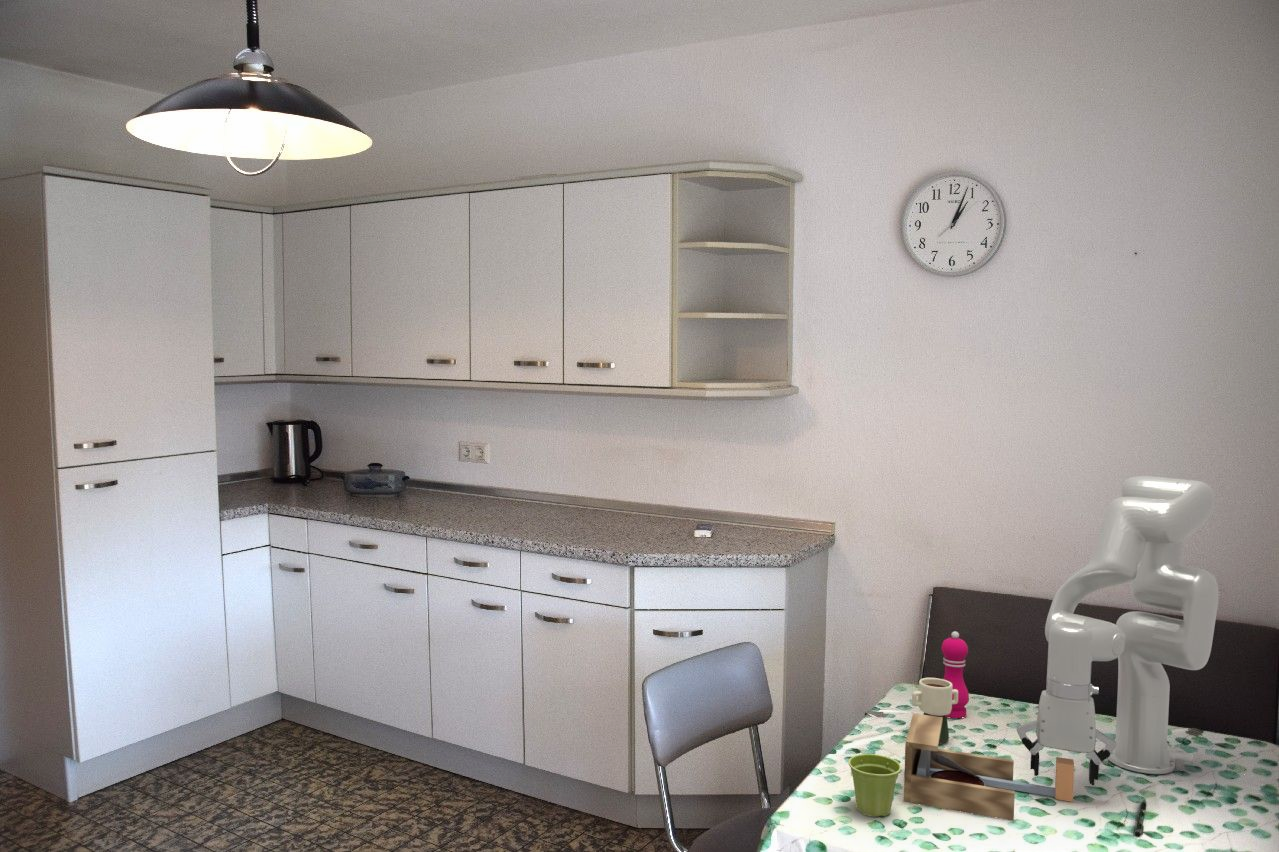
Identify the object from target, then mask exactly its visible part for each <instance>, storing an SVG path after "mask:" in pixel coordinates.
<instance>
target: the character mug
mask: <svg viewBox="0 0 1279 852" xmlns="http://www.w3.org/2000/svg"><path fill="white" fill-rule="evenodd" d="M952 687H953V686H952V683H951V682H949V681H947V680H943V678H937V677H924V678H920V679H919V681H918V690H915V691H912V693H911V705H912V707H918V708H919V710H920V711H921V712H922V715H930V716H937V717H943V722H942V728H941V734H940V739H939V744H944V743H947V742H949V738H950V735H949V725H948V718H947V717H946V715H948V714H950V713H951V709H952V704H957V703H958V690H956V689H952ZM952 694H954V699H953V700H952Z"/></svg>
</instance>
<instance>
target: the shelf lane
mask: <svg viewBox="0 0 1279 852" xmlns="http://www.w3.org/2000/svg"><path fill="white" fill-rule="evenodd" d="M942 722H943V717H937V716H930V715H923V713H915V712H914V713H912V717H911V720H910V723H909V727H908V730H907V731H908V732H907V735H906V739H905V744H904V745H905V747H904V748H905V749H904V751H905V752H904V774H903V775H904V777H903V801H902V802H904V803H907V802H908V803H909V804H914V805H919V804H920V805H921V806H926V807H930V808H931V807H932V808H937V809H942V810H948V811H949V810H950V811H954V812H959V811H961V812H960V813H965V812H966V813H965V814H971V813H973V814H972V815H977V814H979V815H978V816H982V815H984V816H983V817H988V816H990V817H989V818H994V817H997V818H996V819H1000V818H1003V819H1002V820H1005V819H1008V820H1007V821H1011V820H1013V821H1012V822H1014V821H1015V819H1014V818H1015V797H1016V795H1015V794H1016V793H1015V791H1016V790H1011V789H1005V788H998V787H992V786H986V785H985V786H981V785H974V784H968V783H962V782H956V781H950V780H944V779H937V778H931V776H929V777H925V776H919V775H917V769H918V764H919V759H920V755H921V750H922V749H923V750H930V751H931V753H930V768H935V769H941V770H954V769H951V768H949V767H946V766H943V765H941V764H938V763H936V762H935V761H933V760H932V757H931V755H933V754H934V753H935V754H937V755H942V756H945V757H947V758H949V759H950V760H952V761H953V762H955V763H956V764H958V765H960V766H962V767H963V768H965V769H966V770H968V771H970V772H972V773H973V774H975V775H979V776H985V777H992V778H998V779H1004V780H1010V781H1014V770H1015V769H1014V767H1015V766H1014V764H1015V761H1014V759H1009V758H1003V757H998V756H997V757H996V756H989V755H984V754H975V753H970V752H969V753H968V752H963V751H956V750H949V749H943V748H939V744H940V743H939V739H940V734H941V728H942ZM956 771H957V770H956ZM908 803H907V804H908Z"/></svg>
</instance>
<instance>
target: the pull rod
mask: <svg viewBox="0 0 1279 852" xmlns="http://www.w3.org/2000/svg"><path fill="white" fill-rule="evenodd" d="M930 753H931V751H930V750H923V749H922V750H921V755H920V759H919V764H918V769H917V774H916V775H919V776H925V777H931V775H932V774H933V773H934V772H937V771H941V769H935V768H930ZM977 776H979V775H977ZM979 777H981V778H983V779H981V778H980V779H981V780H983V782H984V783H985V786H987V787H993V788H999V789H1005V790H1011V791H1017V792H1023V793H1029V794H1038V795H1042V796H1048V797H1054V798H1055V800H1059V801H1067V802H1072V803H1073V802H1074V786H1075V785H1074V784H1075V762H1074V759H1073V758H1066V757H1059V756H1056V757H1055V777H1054V779H1055V780H1054V787H1053V786H1047V785H1041V784H1034V783H1030V782H1029V783H1028V782H1023V781H1016V780H1013V781H1010V780H1004V779H998V778H992V777H985V776H979Z"/></svg>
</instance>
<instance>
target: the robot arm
mask: <svg viewBox="0 0 1279 852" xmlns="http://www.w3.org/2000/svg"><path fill="white" fill-rule="evenodd" d="M1215 504H1216V497H1215V492H1214V490H1213V489H1212V487H1211V486H1210V485H1209V484H1207V483H1206V482H1204V481H1200V480H1195V479H1185V478H1184V479H1183V478H1171V477H1165V476H1163V477H1162V476H1156V475H1155V476H1154V475H1153V476H1152V475H1137V476H1131V477H1128V478H1127V479H1125V481H1123V483H1122V486H1121V497H1117V498H1114V499H1113V500H1112V501H1110V502H1109V504H1108V506H1107V508H1106V511H1105V513H1104V516H1103V520H1102V523H1101V526H1100V529H1099V533H1098V536H1097V538H1096V542H1095V545H1094V548H1093V552H1092V555H1091V557H1090V561H1089V562H1088V563H1087V565H1085V566H1084V567H1082V568H1081V569H1079V570H1078V571H1076V572H1075V573H1073V575H1071V576H1069V578H1067V580H1066V581H1064V582H1063V584H1061V585H1060V587H1059V588H1058V589H1057V591H1056V593H1055V594H1054V596H1053V599H1052V602H1051V605H1050V608H1049V609H1048V610H1049V611H1048V613H1047V617H1046V621H1045V626H1044V635H1045V639H1046V641H1047V643H1048V647H1047V648H1048V649H1047V669H1046V685H1045V686H1046V689H1045V690H1042V691H1041V694H1040V698H1039V702H1038V708H1037V717H1036V720H1033V721H1030V722H1027V723H1024V724H1022V725H1018V726H1016V732H1017V734H1018V737H1019V739H1020V741H1021V743H1022V744H1023V746H1024V747H1025V749H1027V750H1028V752H1029V753H1030V764H1029V765H1030V770H1032V771H1033V773H1034V776H1035V777H1038V776H1039V773H1040V751H1041V750H1043V748H1049V749H1050V748H1051V749H1056V750H1061V751H1069V752H1074V753H1081V754H1082V753H1083V754H1087V755H1088V757H1090V759H1089V767H1088V770H1089V771H1088V782H1089V785H1090V786H1095V780H1096V781H1099V775H1100V773H1099V772H1100V765H1101V764H1102V763H1103V762H1104V761H1106V759H1107V760H1108V761H1109V762H1111V763H1112V764H1114V765H1116V766H1118V767H1120V768H1123V769H1126V770H1129V771H1132V772H1136V773H1143V774H1146V775H1147V774H1149V775H1166V774H1169V773H1172V772H1173V771H1174V770H1175V767H1176V766H1175V765H1176V763H1175V762H1176V761H1177V762H1182V763H1187V764H1193V762H1194V755H1193V753H1190V752H1189V753H1188V752H1185V750H1184V749H1180V748H1172V747H1171V746H1170V745H1169V742H1168V731H1169V730H1168V728H1169V727H1168V726H1169V710H1170V709H1169V707H1170V691H1171V689H1170V688H1171V687H1170V686H1171V685H1170V680H1169V676H1168V674H1167V672H1166V670H1165V668H1164V666H1163V665H1167V666H1170V667H1171V666H1172V667H1175V668H1180V669H1184V670H1189V671H1199V670H1201V669H1203V668H1204V667H1205V666H1206V665H1207V663H1208V661H1209V658H1210V656H1211V652H1212V646H1213V641H1214V640H1213V639H1214V633H1215V625H1216V619H1217V614H1218V606H1219V599H1220V597H1219V595H1220V591H1219V585H1218V581H1217V579H1216V577H1215V576H1214V575H1213V573H1211V572H1210V571H1207V570H1206V569H1202V568H1198V567H1195V566H1194V567H1193V566H1188V565H1183V564H1182V562H1183V561H1182V560H1183V551H1184V545H1185V544H1184V540H1185V539H1187V538H1188V537H1189V536H1191V535H1192V534H1193V533H1194V532H1195V531H1196V530H1198V528H1200V527H1202V525H1203V524H1205V522H1207V521H1208V519H1209V518H1210V516H1211V515H1212V514H1213V511H1214V508H1215ZM1127 583H1130V594H1131V596H1132V598H1133V599H1134V601H1136V602H1137V603H1139V604H1140V605H1145V606H1147V607H1152V608H1156V609H1160V610H1167V611H1171V612H1175V613H1181V614H1183V619H1179V618H1174V617H1169V616H1165V615H1162V614H1161V615H1160V614H1155V613H1151V612H1147V611H1146V612H1145V611H1128V612H1126V613H1123V614H1121V616H1119V618H1118V619H1117V620H1116V623H1112V622H1111V621H1106V620H1103V619H1099V618H1093V617H1090V616H1085V615H1080V614H1076V613H1074V612H1075V610H1076V607H1077V606H1078V605H1079V603H1080V602H1081V601H1082V600H1083V599H1084V598H1085V597H1087V596H1089V595H1090V594H1092V593H1094V592H1097V591H1099V590H1103V589H1107V588H1111V587H1114V586H1115V587H1116V586H1119V585H1123V584H1127ZM1116 659H1117V660H1118V661H1117V662H1118V664H1117V665H1118V673H1117V675H1118V676H1117V677H1118V678H1117V696H1116V697H1117V699H1116V719H1115V720H1116V722H1115V724H1116V725H1115V739H1113V738H1112V737H1111V736H1109V735H1107V734H1105V733H1103V732H1102V731H1100V730H1099V729H1097V727H1096V710H1095V709H1096V708H1095V707H1096V706H1095V700H1094V698H1093V697H1092V696H1093V695H1099V693H1100V692H1099V686H1095V685H1093V684H1092V683H1091V680H1092V678H1091V677H1092V663H1093V662H1110V661H1114V660H1116ZM1031 731H1036V732H1035V734H1036V739H1035V740H1034V741H1033V742H1032V740H1031V739H1030V738H1029V737H1028V735H1027V733H1029V732H1031ZM1096 740H1099V741H1100V742H1102V743H1104V744H1105V746H1104V747H1103V748H1102V749H1101V750H1099V751H1097V750H1096Z"/></svg>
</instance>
